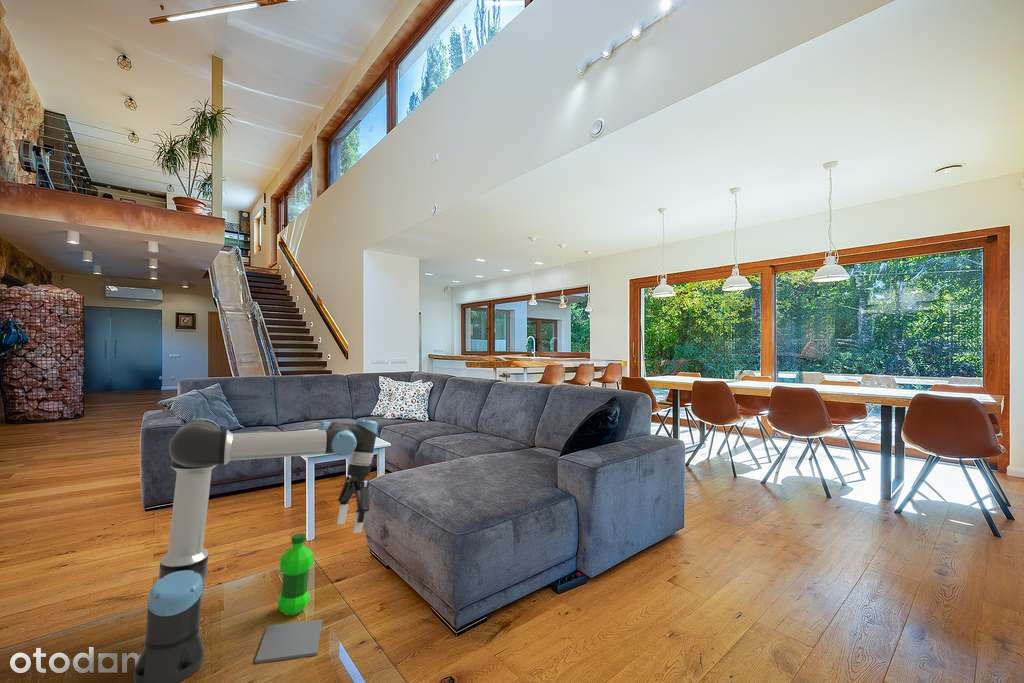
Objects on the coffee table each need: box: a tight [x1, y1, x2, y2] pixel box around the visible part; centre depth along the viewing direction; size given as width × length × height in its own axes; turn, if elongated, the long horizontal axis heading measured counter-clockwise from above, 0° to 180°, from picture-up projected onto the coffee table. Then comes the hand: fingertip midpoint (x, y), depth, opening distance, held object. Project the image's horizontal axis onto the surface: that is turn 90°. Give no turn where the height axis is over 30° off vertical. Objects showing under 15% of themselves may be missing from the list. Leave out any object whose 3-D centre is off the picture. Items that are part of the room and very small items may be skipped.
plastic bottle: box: [277, 532, 315, 616], centre depth 147 cm, size 10×10×25 cm
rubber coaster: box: [254, 618, 324, 664], centre depth 132 cm, size 16×16×1 cm
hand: (348, 528), depth 150 cm, fingers open, 13 cm apart
